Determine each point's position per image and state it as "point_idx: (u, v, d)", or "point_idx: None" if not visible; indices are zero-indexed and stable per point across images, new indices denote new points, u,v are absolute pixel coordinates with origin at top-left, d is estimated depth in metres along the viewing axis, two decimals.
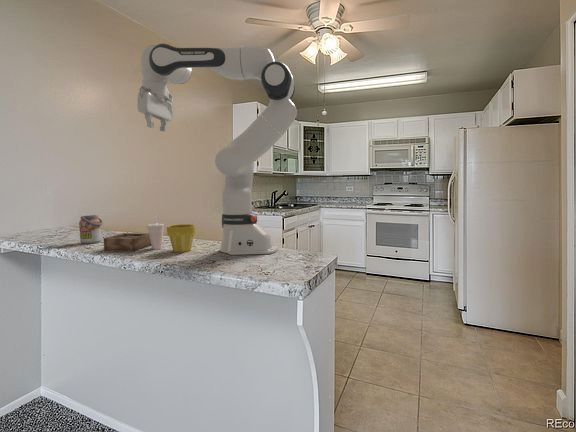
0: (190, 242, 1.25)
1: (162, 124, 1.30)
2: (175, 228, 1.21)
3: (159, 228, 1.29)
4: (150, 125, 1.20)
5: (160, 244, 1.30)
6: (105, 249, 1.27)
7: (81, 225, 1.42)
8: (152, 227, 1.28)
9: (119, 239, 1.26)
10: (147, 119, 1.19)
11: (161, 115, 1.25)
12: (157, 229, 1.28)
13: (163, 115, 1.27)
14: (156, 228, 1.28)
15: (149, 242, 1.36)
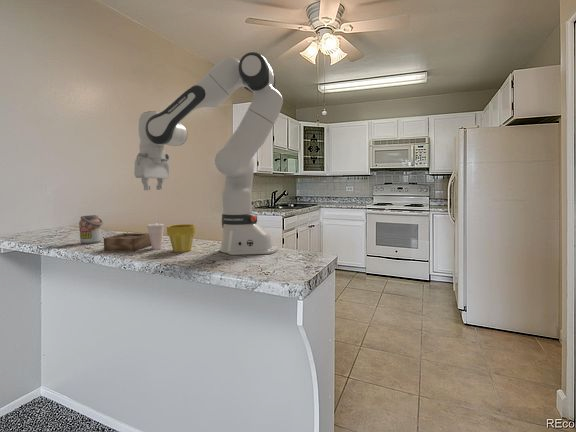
0: (190, 242, 1.25)
1: (159, 182, 1.34)
2: (175, 228, 1.21)
3: (159, 228, 1.29)
4: (147, 188, 1.24)
5: (160, 244, 1.30)
6: (105, 249, 1.27)
7: (81, 225, 1.42)
8: (152, 227, 1.28)
9: (119, 239, 1.26)
10: (144, 183, 1.23)
11: (158, 176, 1.29)
12: (157, 229, 1.28)
13: (160, 175, 1.30)
14: (156, 228, 1.28)
15: (149, 242, 1.36)
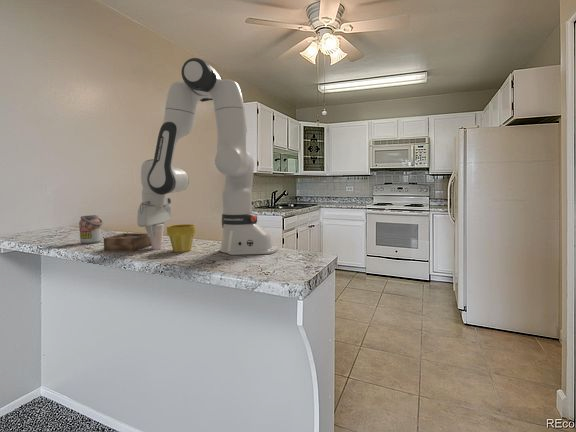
0: (190, 242, 1.25)
1: None
2: (175, 228, 1.21)
3: (159, 228, 1.29)
4: (151, 235, 1.26)
5: (160, 244, 1.30)
6: (105, 249, 1.27)
7: (81, 225, 1.42)
8: None
9: (119, 239, 1.26)
10: (148, 230, 1.26)
11: (160, 221, 1.31)
12: (157, 229, 1.28)
13: (162, 220, 1.32)
14: (156, 228, 1.28)
15: (149, 242, 1.36)
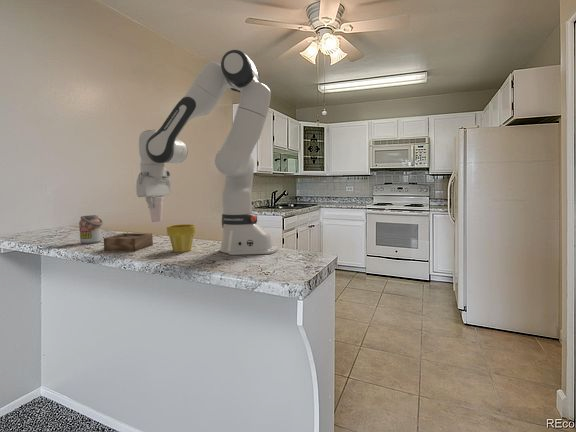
0: (190, 242, 1.25)
1: None
2: (175, 228, 1.21)
3: (158, 200, 1.28)
4: (151, 206, 1.26)
5: (160, 217, 1.29)
6: (105, 249, 1.27)
7: (81, 225, 1.42)
8: None
9: (119, 239, 1.26)
10: (148, 201, 1.25)
11: (159, 194, 1.30)
12: (156, 201, 1.27)
13: (161, 193, 1.31)
14: (155, 200, 1.27)
15: (149, 242, 1.36)
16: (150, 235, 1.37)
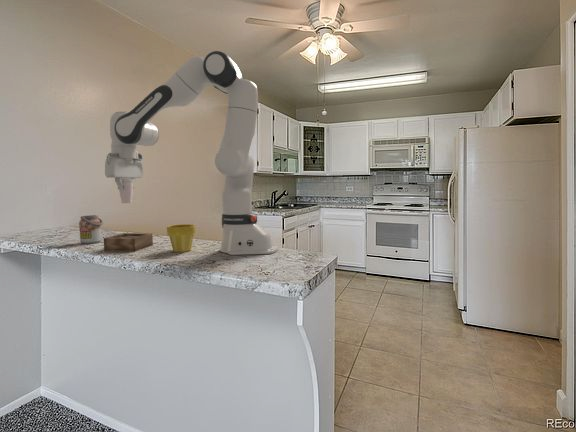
0: (190, 242, 1.25)
1: None
2: (175, 228, 1.21)
3: (128, 182, 1.29)
4: (120, 188, 1.27)
5: (130, 199, 1.30)
6: (105, 249, 1.27)
7: (81, 225, 1.42)
8: None
9: (119, 239, 1.26)
10: (117, 182, 1.26)
11: (130, 176, 1.31)
12: (126, 182, 1.28)
13: (132, 175, 1.32)
14: (125, 181, 1.28)
15: (149, 242, 1.36)
16: (150, 235, 1.37)
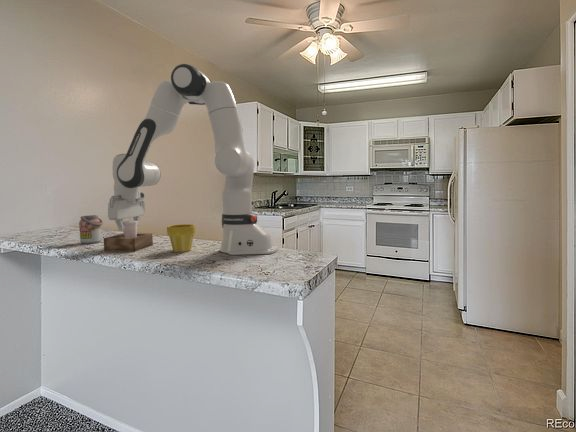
0: (190, 242, 1.25)
1: (134, 220, 1.38)
2: (175, 228, 1.21)
3: (132, 225, 1.31)
4: (121, 229, 1.27)
5: None
6: (105, 249, 1.27)
7: (81, 225, 1.42)
8: (125, 224, 1.30)
9: (119, 239, 1.26)
10: (118, 224, 1.26)
11: (132, 215, 1.32)
12: (130, 226, 1.31)
13: (135, 214, 1.34)
14: (129, 225, 1.31)
15: (149, 242, 1.36)
16: (150, 235, 1.37)
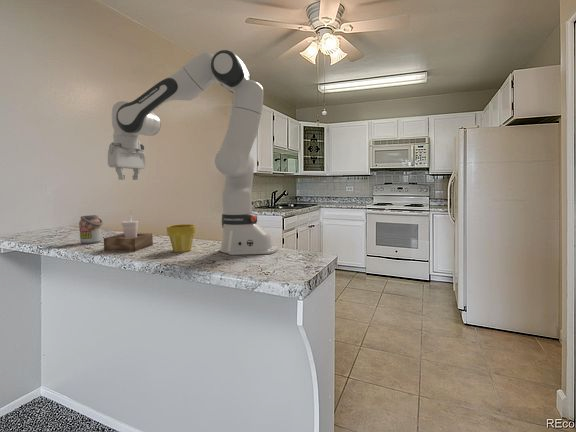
0: (190, 242, 1.25)
1: (135, 173, 1.36)
2: (175, 228, 1.21)
3: (133, 225, 1.31)
4: (121, 178, 1.25)
5: None
6: (105, 249, 1.27)
7: (81, 225, 1.42)
8: (126, 224, 1.30)
9: (119, 239, 1.26)
10: (118, 172, 1.24)
11: (133, 166, 1.31)
12: (131, 226, 1.31)
13: (135, 165, 1.32)
14: (130, 225, 1.31)
15: (149, 242, 1.36)
16: (150, 235, 1.37)
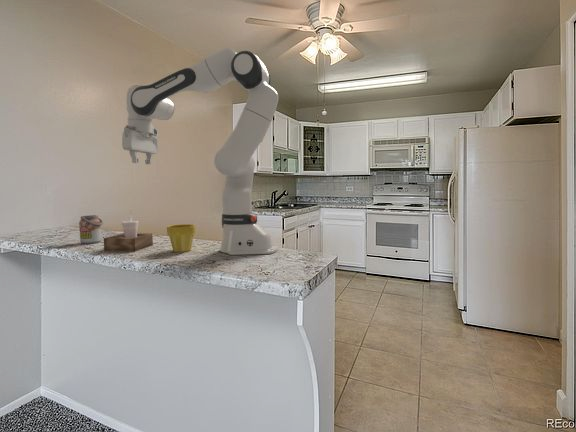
0: (189, 242, 1.25)
1: (147, 157, 1.37)
2: (175, 228, 1.21)
3: (133, 225, 1.31)
4: (135, 161, 1.26)
5: None
6: (105, 249, 1.27)
7: (81, 225, 1.42)
8: (126, 224, 1.30)
9: (119, 239, 1.26)
10: (132, 155, 1.25)
11: (146, 150, 1.31)
12: (131, 226, 1.31)
13: (148, 150, 1.33)
14: (130, 225, 1.31)
15: (149, 242, 1.36)
16: (150, 235, 1.37)
